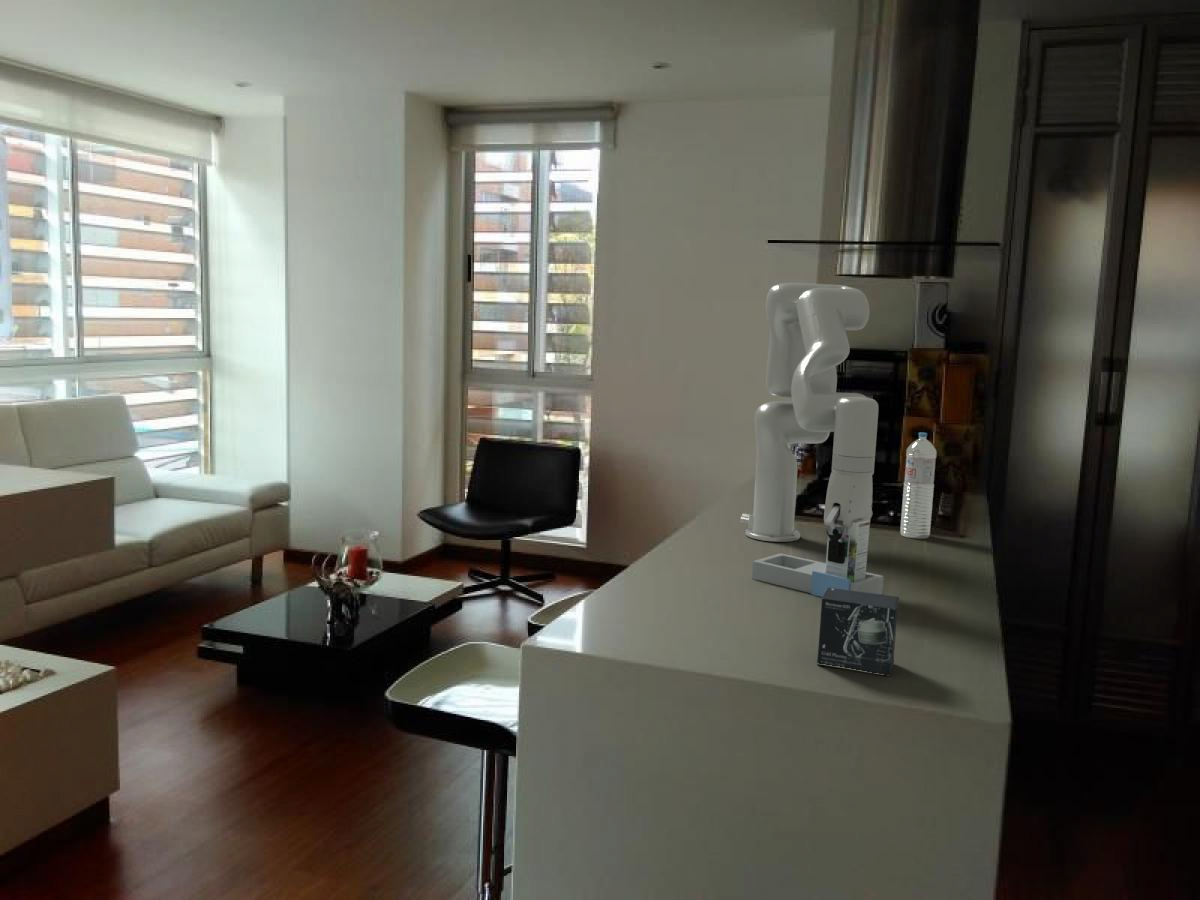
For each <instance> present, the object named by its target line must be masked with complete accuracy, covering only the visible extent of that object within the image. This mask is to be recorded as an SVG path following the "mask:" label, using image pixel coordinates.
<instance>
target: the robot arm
mask: <svg viewBox="0 0 1200 900" xmlns="http://www.w3.org/2000/svg"><path fill="white" fill-rule="evenodd" d="M870 312H871V311H870V304H869V301H868V297H867V296H866V294H865V293H864V292H863V291H862V290H861V289H859V288H854V287H851V286H847V285H844V284H831V283H829V284H826V283H811V282H810V283H808V282H807V283H806V282H781V283H777V284H775V285H773V286H772V287H770V288H769V290H768V292H767V295H766V300H765V315H766V319H767V324H768V329H769V343H768V351H767V352H768V353H767V362H766V369H765V370H766V373H765V388H766V391H767V392H768V394H770V395H772V396H775V397H777V398H778V397H779V398H791V400H792V401H769V402H764V403H763V404H760V406H758V408H757V409H756V411H755V413H754V418H753V419H754V432H755V444H756V450H755V451H756V457H755V478H754V494H753V495H754V496H753V510H752V511H753V512H752V514H751V513H742V515H741V516H740V518H739V521H740V523H743V524H744V523H745V524H748V527H747V528H746V529H745V535H746V537H749V538H751V539H753V540H759V541H763V542H773V543H774V542H775V543H784V542H785V543H788V542H794V541H795V542H796V541H798V540H799V539H800V538H801V533H800V532H799V531H798V530H796V529H794V527H795V514H796V501H797V500H796V497H797V480H798V460H797V457H796V456H795V454H794V453H793V451H792V450H791V449H790V448H789V445H790V444H805V445H807V444H809V445H810V444H823V443H824V442H826V441H827V440H828V438H829V436H830V433H833V445H832V446H833V447H832V459H831V460H832V461H831V472H830V475H829V480H828V484H827V489H826V496H825V497H826V498H825V504H824V511H823V513H824V514H823V522H824V523H823V524H824V525H823V526H824V528H825V530H826V534H827V541H828V540H829V545H828V561H830V562H835V563H839V564H843V563H844V562H845V549H846V542H844V539H845V535H846V532H847V529H848V528H850V527H852V525H853V522H854V521H857V520H859V519H865V518H868V519H870V520H871V519H872V516H873V514H874V513H873V510H872V508H873V489H874V488H873V475H874V473H875V461H876V460H875V459H876V447H877V436H878V435H877V433H878V419H879V404H878V402H877V401H876V400H875V399H873V398H871V397H867V396H866V395H864V394H862V393H858V392H837V384H838V373H837V368H836V366H838V365H840V364H841V363H843V362H844V361H845V360H846V359H848V356H849V354H850V352H851V351H850V348H851V347H850V342H849V338H848V335H847V331H859V330H862V329H864V328H865V327H866V326H867V324H868V321H869V318H870ZM837 522H841V523H843V524H842V525H841V524H837ZM836 528H837V529H841V532H840V533H839V532H838V530H837V529H836Z"/></svg>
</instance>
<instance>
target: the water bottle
mask: <svg viewBox="0 0 1200 900" xmlns="http://www.w3.org/2000/svg"><path fill="white" fill-rule="evenodd" d="M927 436H928V433H927V432H918V439H916V440H914V441H913V442H912V443H911V444H910V445H909V446H908V447H907V448H906V455H905V456H906V459H905V471H904V481H903V490H902V492H903V493H902V504H901V516H900V518H901V519H900V531H899V532H900V535H901V536H902V537H905V538H910V539H915V540H916V539H917V540H924V539H928V538H929V537H930V534H931V525H932V522H931V521H932V513H933V512H932V511H933V500H934V499H933V498H934V490H935V489H934V488H935V483H934V482H935V470H936V460H937V459H936V458H937V454H938V453H937V449H936V448H935V446H934V445H933V443H932V442H930V440H928V439H927Z"/></svg>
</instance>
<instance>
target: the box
mask: <svg viewBox="0 0 1200 900" xmlns="http://www.w3.org/2000/svg"><path fill="white" fill-rule="evenodd" d="M899 601H900V597H899V596H895V595H894V596H893V595H885V594H882V595H880V594H872V593H865V592H858V591H850V590H843V589H835V588H827V589H826V590H825V592H824V594H823V597H821V608H820V621H819V622H820V623H819V635H818V636H819V637H818V647H817V648H818V651H817V662H816V664H817V663H819V664H826V665H832V666H840V667H845V668H851V669H856V670H862V671H867V672H872V673H879V674H884V675H890V674H892V672H893V668H892V667H894V665H893V664H894V662H895V661H894V660H895V647H896V646H895V645H896V634H897V624H898V623H897V621H898V612H899V611H898V609H899ZM891 671H892V672H891ZM890 676H891V675H890Z"/></svg>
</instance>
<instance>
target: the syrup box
mask: <svg viewBox="0 0 1200 900" xmlns="http://www.w3.org/2000/svg"><path fill="white" fill-rule="evenodd" d="M837 524H841V525H842V524H843V523H841V522H837ZM870 524H871V519H868V518H865V519H859V520H857V521H854V522H853V525H852V527H850V528H848V529H847V532H846V535H845V539H844V542H846V549H845V562H844V563H843V564H839V563H835V562H830V561H828V545H829V540H828V539H827V544H826V561H825V563H826V570H825V573H826V574H831V575H835V576H839V577H844V578H848V579H851V582H852V583H857V582H859V581H862V580H865V575H866V572H867V561H868V549H869V539H870V538H869V537H870V528H871V527H870V526H871V525H870ZM836 529H837V528H836ZM837 530H838V532H839V533H840V532H841V529H837Z"/></svg>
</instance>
